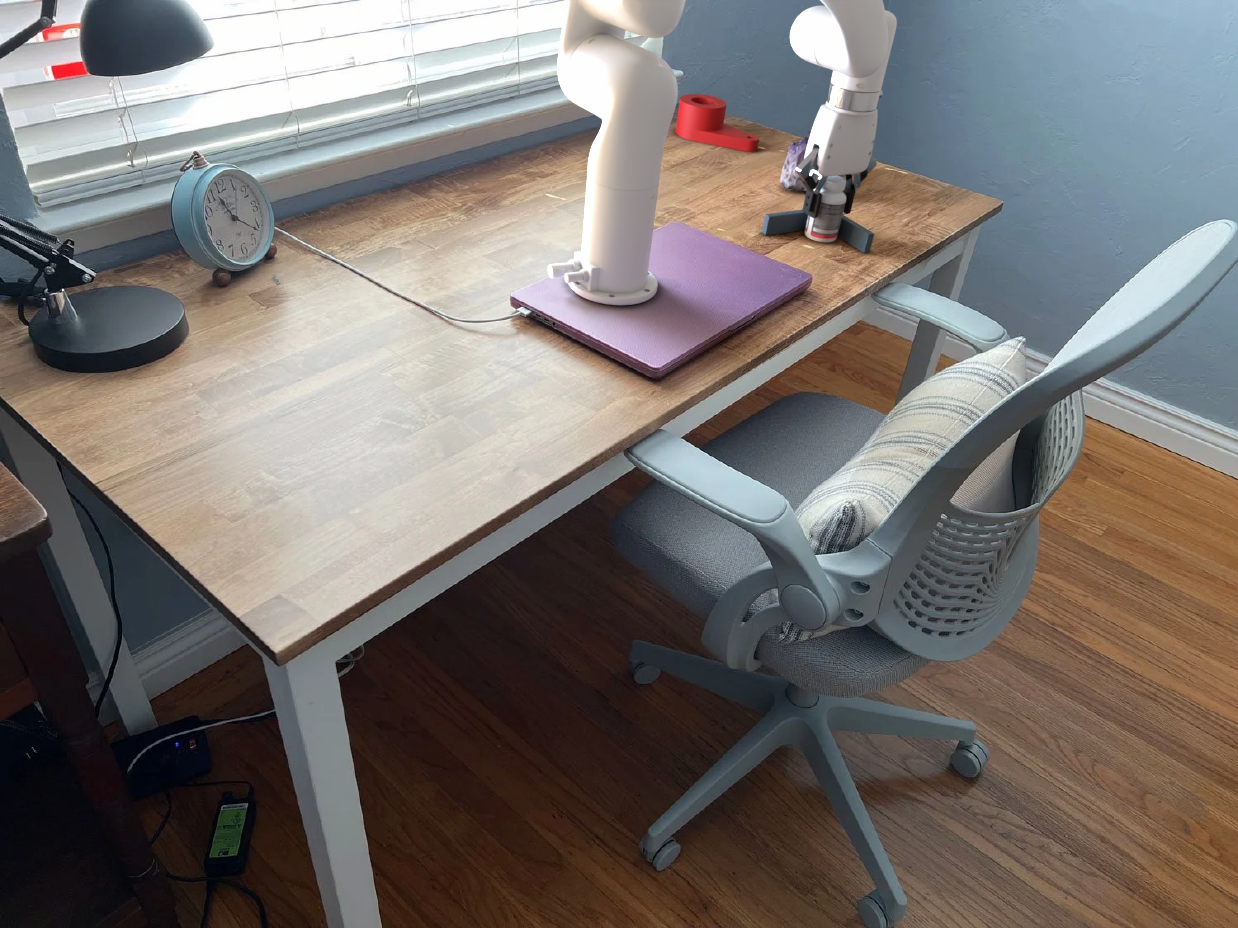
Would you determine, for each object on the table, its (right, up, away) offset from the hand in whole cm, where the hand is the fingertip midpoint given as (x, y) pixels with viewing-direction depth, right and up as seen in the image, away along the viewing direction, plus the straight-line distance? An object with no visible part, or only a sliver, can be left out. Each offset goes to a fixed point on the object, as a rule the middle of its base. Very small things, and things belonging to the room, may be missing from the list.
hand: (826, 211), depth 154 cm
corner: (-1, -5, 0) cm, 5 cm away
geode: (+3, +12, +25) cm, 28 cm away
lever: (-14, +25, +39) cm, 48 cm away
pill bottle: (0, -4, +3) cm, 4 cm away
